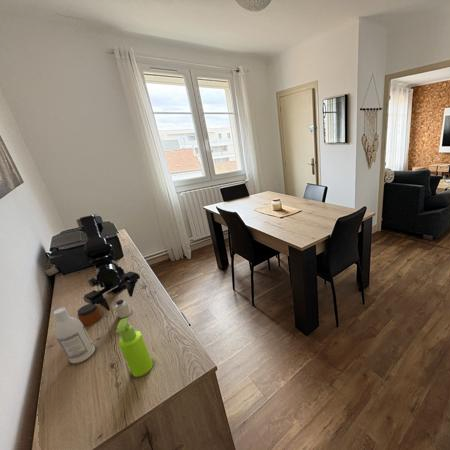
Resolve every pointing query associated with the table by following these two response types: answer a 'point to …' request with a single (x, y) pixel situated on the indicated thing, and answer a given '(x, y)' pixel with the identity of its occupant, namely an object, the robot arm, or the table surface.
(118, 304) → the white bottle
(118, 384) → the table surface
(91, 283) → the robot arm
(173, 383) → the table surface
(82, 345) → the bath foam
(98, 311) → the amber bottle
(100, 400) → the table surface
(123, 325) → the soap dispenser
